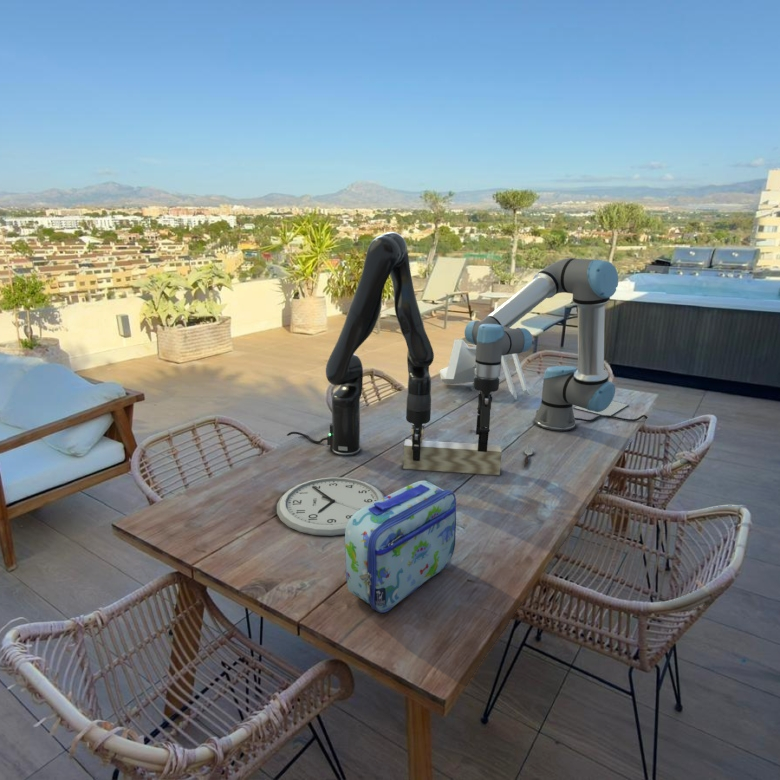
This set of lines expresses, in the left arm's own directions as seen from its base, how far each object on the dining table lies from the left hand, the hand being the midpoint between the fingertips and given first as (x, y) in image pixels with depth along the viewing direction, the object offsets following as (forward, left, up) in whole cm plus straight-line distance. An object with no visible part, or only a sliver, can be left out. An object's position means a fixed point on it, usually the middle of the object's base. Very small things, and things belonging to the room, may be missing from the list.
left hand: (416, 456), depth 166 cm
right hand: (+18, +8, +6) cm, 21 cm away
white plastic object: (-12, +85, -3) cm, 86 cm away
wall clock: (-8, -34, -3) cm, 35 cm away
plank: (+10, +5, -3) cm, 12 cm away
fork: (+28, +25, -3) cm, 38 cm away
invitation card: (+40, +95, -3) cm, 103 cm away
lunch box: (+24, -53, -3) cm, 58 cm away
